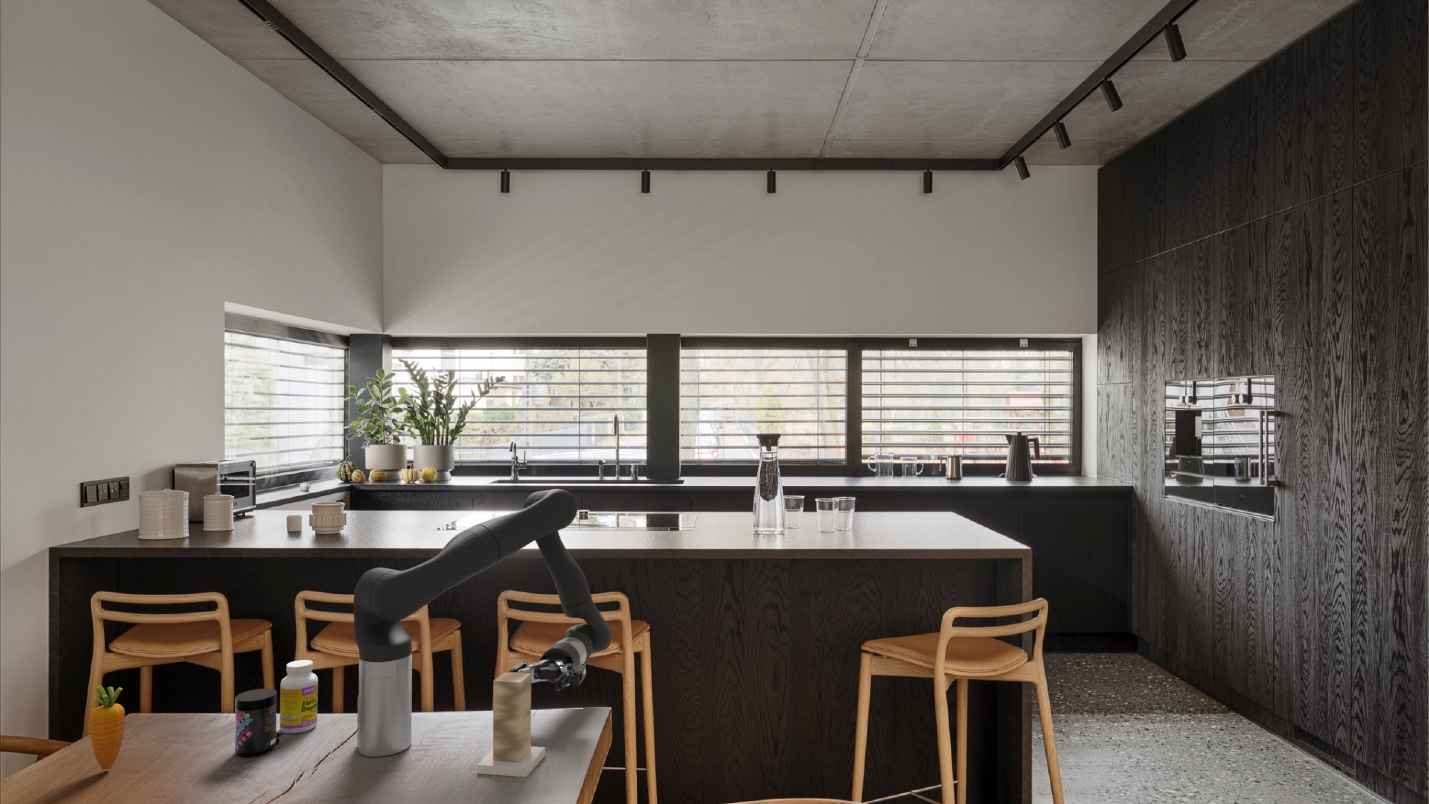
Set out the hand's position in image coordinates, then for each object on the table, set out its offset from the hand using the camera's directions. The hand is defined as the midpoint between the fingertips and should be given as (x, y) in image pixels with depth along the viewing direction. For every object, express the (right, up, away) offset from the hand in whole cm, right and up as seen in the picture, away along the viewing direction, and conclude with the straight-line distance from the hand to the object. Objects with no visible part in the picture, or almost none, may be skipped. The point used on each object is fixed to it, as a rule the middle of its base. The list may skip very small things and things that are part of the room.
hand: (535, 685), depth 155 cm
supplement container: (-51, -11, -6) cm, 52 cm away
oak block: (-2, -9, -11) cm, 14 cm away
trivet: (-2, -10, -11) cm, 15 cm away
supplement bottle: (-48, -11, +5) cm, 50 cm away
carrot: (-72, -10, -14) cm, 74 cm away
